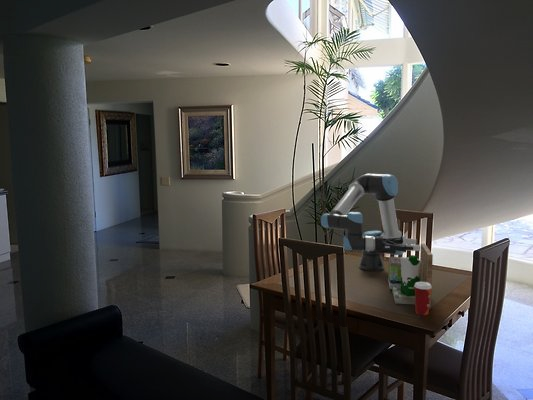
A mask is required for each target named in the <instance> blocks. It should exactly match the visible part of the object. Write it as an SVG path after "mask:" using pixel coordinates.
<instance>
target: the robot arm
mask: <svg viewBox="0 0 533 400" xmlns="http://www.w3.org/2000/svg"><path fill="white" fill-rule="evenodd" d="M398 193H399V182H398V178H397V177H396V176H395V175H393V174H388V173H384V174H383V173H380V174H379V173H365V174H362V175H360V176H359V177H357V178H355V179H354V180H352V182H351V183H350V184H349V186H348V190H347V191H346V192H345V194H344V195H343V196H342V197H341V199H339V201H338V202H337V203H336V205H335V206H334V207H333V208H332V209H331V211H330V213H323V214H322V215H321V218H320V224H321V227H323V228H327V229H331V230H343V231H347V233H346V235H344V236H343V244H342V245H343V247H342V248H343V249H344V250H345V251H357V252H358V251H361V258H360V261H359V264H358V267H359V269H361V270H364V271H371V272H375V271H378V272H379V271H382V270H384V269H385V265H384V261H383V257H382V254H385V255H386V254H387V255H394V256H402V255H403V254H404V253H407V252H408V251H411V252H421V244H417V238H407V237H406V236H403V235H402V234H403V233H402V231H401V230H399V226H398V219H397V212H396V205H395V198H396V195H397V194H398ZM367 194H368V195H374V199H375V200H376V201H378V207H379V211H380V212H379V213H380V219H381V223H382V231H383V232H382V231H381V230H369V231H365V232H363V222H364V221H363V214H362V212H359V211H351V210H352V209H353V207H354V205H356V203H357V202H358V200H359V199H360V198H362V197H363V196H364V195H367Z"/></svg>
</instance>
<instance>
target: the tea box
mask: <svg viewBox="0 0 533 400" xmlns="http://www.w3.org/2000/svg"><path fill="white" fill-rule="evenodd" d="M401 258H407V257H405V256H389V257H388V277H387V279H388V287H389V290H393V285H396V288H401Z"/></svg>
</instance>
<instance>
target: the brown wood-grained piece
mask: <svg viewBox="0 0 533 400" xmlns="http://www.w3.org/2000/svg"><path fill="white" fill-rule="evenodd" d="M433 257H434V254H433V253H432V252H431V249H430V248H429V247H428V246H427V245H426V243H420V258H419V260H421V261H422V263H421V271H420V282H427V283H430V284H431V286H432V285H433V284H432V281H433ZM432 287H433V286H432ZM432 289H433V288H431V290H432ZM400 290H401V288H396V285H393V289H392V296H393V300H394V303H395V304H400V305H401V304H404V305H415V296H406V295H404V294H403V293H401V292H400ZM431 308H432V293H431V294H430V304H429V309H431Z"/></svg>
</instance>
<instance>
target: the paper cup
mask: <svg viewBox="0 0 533 400" xmlns="http://www.w3.org/2000/svg"><path fill="white" fill-rule="evenodd" d="M414 287H415V304H414V305H415V306H414V307H415V313H416V314H417V315H418V316H419V315H420V316H428V315H429V311H430V308H429V304H430V294H431V295H432V289H433V288H432V287H433V286H431V284H430V283H427V282H416V283H415V285H414ZM431 288H432V289H431Z"/></svg>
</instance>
